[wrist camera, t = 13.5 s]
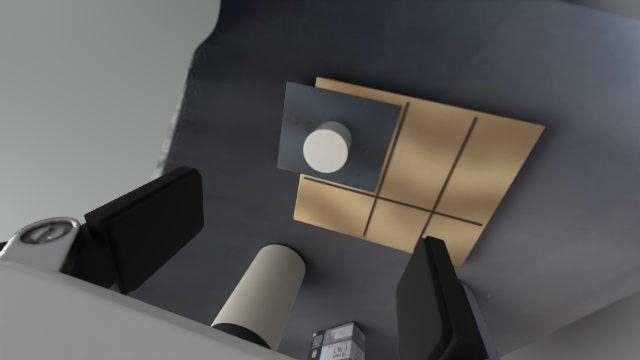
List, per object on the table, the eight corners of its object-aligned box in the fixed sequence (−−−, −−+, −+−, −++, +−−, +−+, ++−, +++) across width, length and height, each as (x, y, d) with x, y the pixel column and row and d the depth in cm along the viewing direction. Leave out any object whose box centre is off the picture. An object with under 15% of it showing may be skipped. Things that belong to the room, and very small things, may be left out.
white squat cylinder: (316, 116, 27) (306, 124, 23) (356, 126, 26) (352, 135, 22) (309, 154, 28) (300, 166, 25) (346, 164, 28) (342, 177, 24)
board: (293, 70, 27) (288, 70, 25) (536, 123, 24) (547, 126, 22) (276, 207, 35) (271, 214, 33) (457, 259, 32) (461, 269, 30)
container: (415, 262, 33) (440, 391, 20) (490, 290, 33) (567, 444, 19) (385, 308, 38) (388, 438, 25) (450, 334, 37) (489, 482, 24)
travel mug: (270, 234, 37) (187, 361, 21) (315, 261, 37) (266, 407, 21) (251, 265, 41) (167, 393, 25) (292, 290, 41) (236, 432, 25)
